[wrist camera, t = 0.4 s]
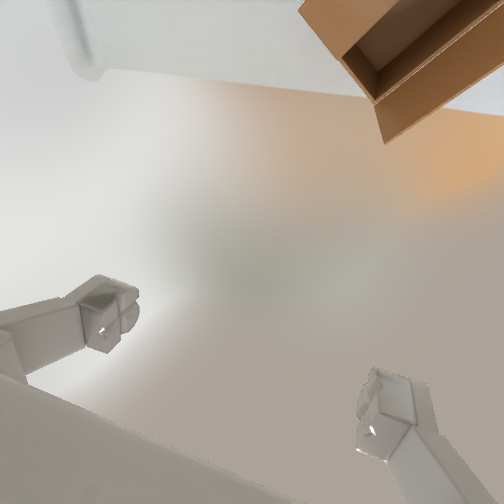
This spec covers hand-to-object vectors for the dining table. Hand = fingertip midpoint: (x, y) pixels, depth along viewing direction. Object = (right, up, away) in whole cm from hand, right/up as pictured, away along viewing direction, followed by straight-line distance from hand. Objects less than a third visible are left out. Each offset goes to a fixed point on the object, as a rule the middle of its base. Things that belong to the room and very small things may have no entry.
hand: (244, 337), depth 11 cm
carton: (+18, +36, +29) cm, 50 cm away
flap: (+20, +21, +21) cm, 36 cm away
